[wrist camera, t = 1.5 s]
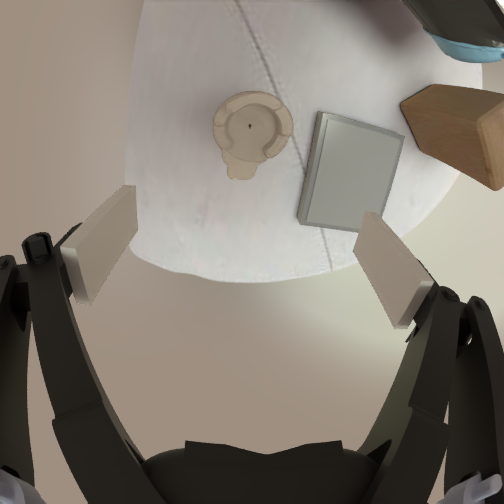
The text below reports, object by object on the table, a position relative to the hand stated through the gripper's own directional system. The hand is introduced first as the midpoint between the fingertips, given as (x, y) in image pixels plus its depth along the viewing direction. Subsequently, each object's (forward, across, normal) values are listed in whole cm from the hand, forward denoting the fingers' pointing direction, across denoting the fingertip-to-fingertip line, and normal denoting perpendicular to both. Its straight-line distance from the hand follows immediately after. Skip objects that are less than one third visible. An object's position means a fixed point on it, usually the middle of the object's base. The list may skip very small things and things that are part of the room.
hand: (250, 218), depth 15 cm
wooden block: (+29, +30, +11) cm, 43 cm away
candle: (+29, 0, 0) cm, 29 cm away
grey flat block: (+29, +17, -3) cm, 33 cm away
